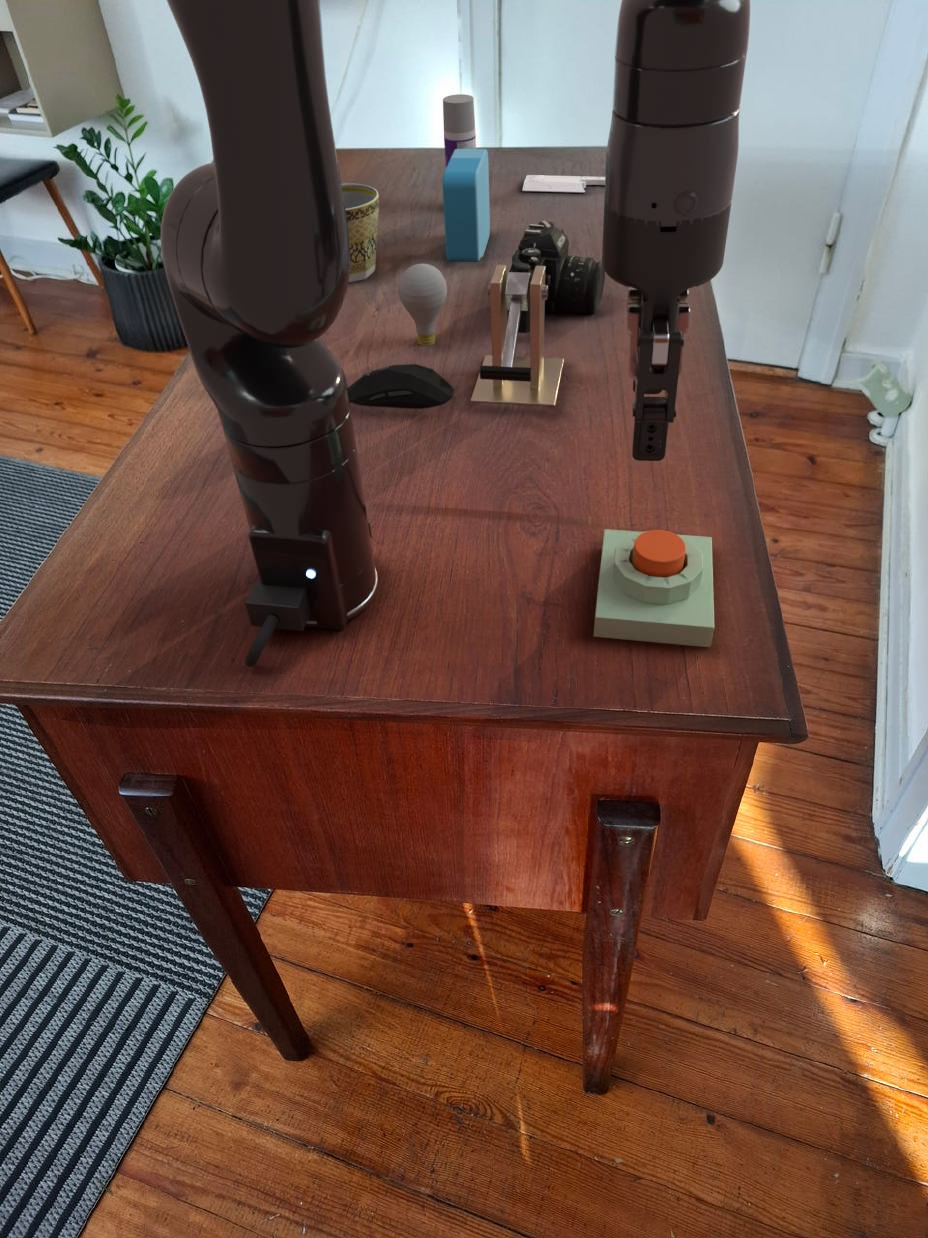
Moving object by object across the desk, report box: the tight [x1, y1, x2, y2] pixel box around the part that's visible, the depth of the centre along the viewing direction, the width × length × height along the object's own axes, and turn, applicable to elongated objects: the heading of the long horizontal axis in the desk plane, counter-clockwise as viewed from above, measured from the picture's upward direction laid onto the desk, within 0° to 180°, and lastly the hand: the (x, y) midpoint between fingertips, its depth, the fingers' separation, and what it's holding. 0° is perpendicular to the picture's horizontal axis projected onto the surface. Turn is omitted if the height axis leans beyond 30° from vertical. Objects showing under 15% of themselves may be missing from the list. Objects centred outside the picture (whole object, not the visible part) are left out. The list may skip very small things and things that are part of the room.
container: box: [442, 93, 477, 168], centre depth 134 cm, size 5×5×15 cm
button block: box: [593, 528, 715, 648], centre depth 72 cm, size 11×9×4 cm
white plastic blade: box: [521, 174, 605, 194], centre depth 142 cm, size 5×15×1 cm, turn 78°
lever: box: [479, 271, 532, 382], centre depth 89 cm, size 12×5×2 cm, turn 170°
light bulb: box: [398, 263, 448, 346], centre depth 102 cm, size 6×6×10 cm
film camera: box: [507, 220, 606, 334], centre depth 108 cm, size 18×12×10 cm
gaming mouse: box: [348, 363, 455, 410], centre depth 96 cm, size 6×15×4 cm, turn 84°
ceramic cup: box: [341, 183, 380, 283], centre depth 120 cm, size 13×10×10 cm
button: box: [632, 529, 686, 578], centre depth 71 cm, size 4×4×2 cm
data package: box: [442, 148, 491, 262], centre depth 122 cm, size 12×4×12 cm, turn 172°
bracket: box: [470, 264, 565, 407], centre depth 94 cm, size 10×9×13 cm
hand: (647, 423), depth 65 cm, fingers open, 8 cm apart
